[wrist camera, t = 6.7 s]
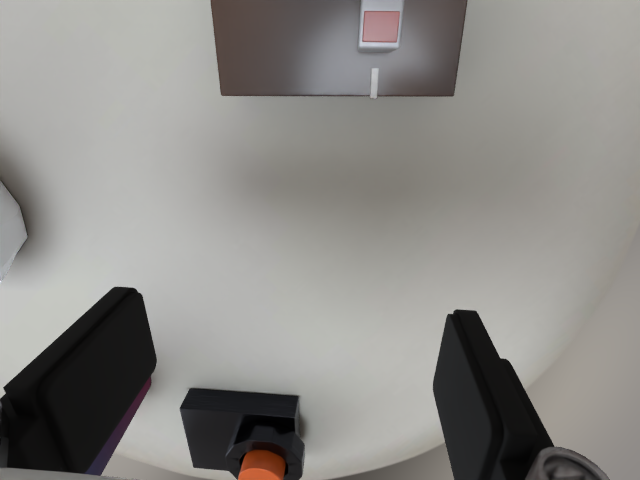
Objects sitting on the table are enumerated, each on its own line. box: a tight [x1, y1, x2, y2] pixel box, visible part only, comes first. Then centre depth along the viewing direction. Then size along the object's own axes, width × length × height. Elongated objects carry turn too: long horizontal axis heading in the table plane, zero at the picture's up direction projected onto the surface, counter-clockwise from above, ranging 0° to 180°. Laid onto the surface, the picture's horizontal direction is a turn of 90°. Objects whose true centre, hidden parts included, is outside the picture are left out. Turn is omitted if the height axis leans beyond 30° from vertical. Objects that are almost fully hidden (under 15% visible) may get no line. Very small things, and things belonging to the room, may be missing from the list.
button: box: [238, 450, 286, 480], centre depth 30 cm, size 4×4×2 cm
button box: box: [180, 389, 305, 480], centre depth 33 cm, size 11×8×4 cm
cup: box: [84, 377, 151, 476], centre depth 27 cm, size 7×7×15 cm
